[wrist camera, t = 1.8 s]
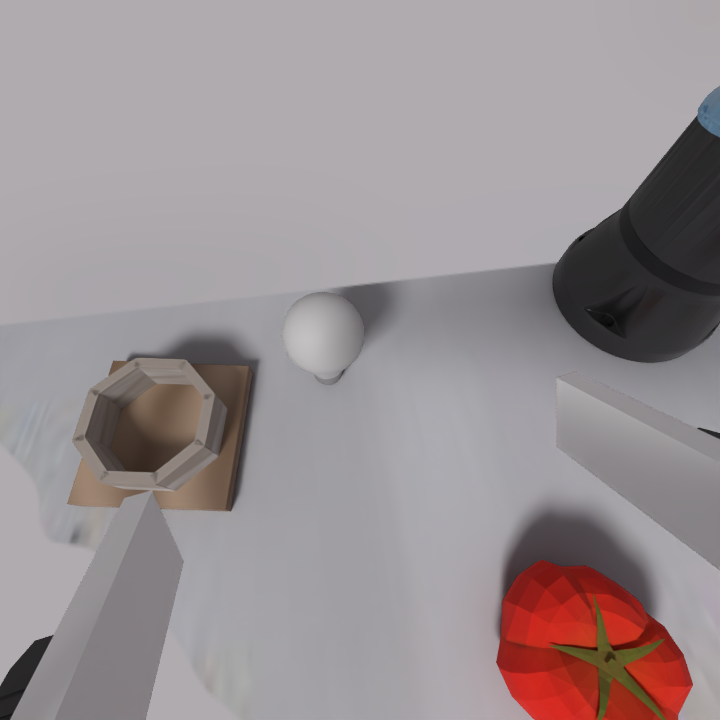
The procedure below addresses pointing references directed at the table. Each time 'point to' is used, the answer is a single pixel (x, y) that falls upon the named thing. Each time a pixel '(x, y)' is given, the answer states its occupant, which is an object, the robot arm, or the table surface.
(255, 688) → the table surface
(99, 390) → the bulb socket
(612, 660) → the tomato
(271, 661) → the table surface
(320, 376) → the lightbulb
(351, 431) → the table surface
